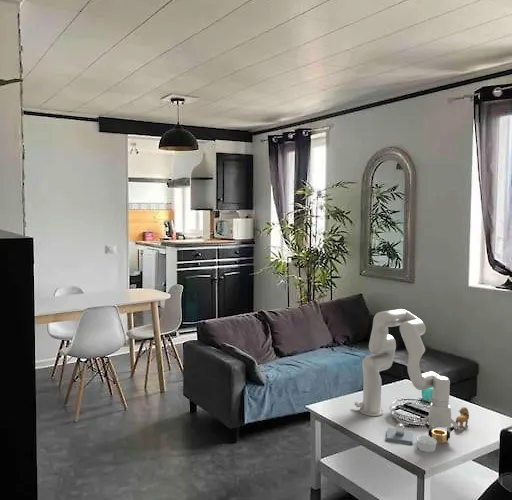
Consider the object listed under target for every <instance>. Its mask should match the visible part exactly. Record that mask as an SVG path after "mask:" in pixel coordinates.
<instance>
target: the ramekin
mask: <svg viewBox="0 0 512 500" xmlns="http://www.w3.org/2000/svg"><path fill="white" fill-rule="evenodd" d="M416 444H417V449H418V450H419V451H421V452H425V453H433V452H435V451H436V448H437V444H438V443H437V440H436V439H434V438H432V437H430V436H428V435H419V436H417V438H416Z"/></svg>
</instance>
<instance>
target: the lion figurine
mask: <svg viewBox="0 0 512 500" xmlns="http://www.w3.org/2000/svg"><path fill="white" fill-rule="evenodd" d="M458 412H459V414H460V415H458V416H457V417H456V419H455V422H456V423H457V425H458V426H457V427H456V428H455V429H454V430H453V431H457V432H458V433H459V426H460V429H461V431H465V428H463V426H465V427H468V426H469V425H468V423H469V422H468V421H469V418H470V412H469V409H468V408H467V407H465V406H462V407H461V408H460V409H459V410H458ZM464 423H465V425H464Z"/></svg>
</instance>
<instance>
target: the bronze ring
mask: <svg viewBox="0 0 512 500" xmlns="http://www.w3.org/2000/svg"><path fill="white" fill-rule="evenodd" d="M431 437H432V438H434V439H436V440H437V443H436V444H439V445H440V444H441V445H442V444H447V442H448V441H447V430H444V429H439V428H434V429H432V436H431Z"/></svg>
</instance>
